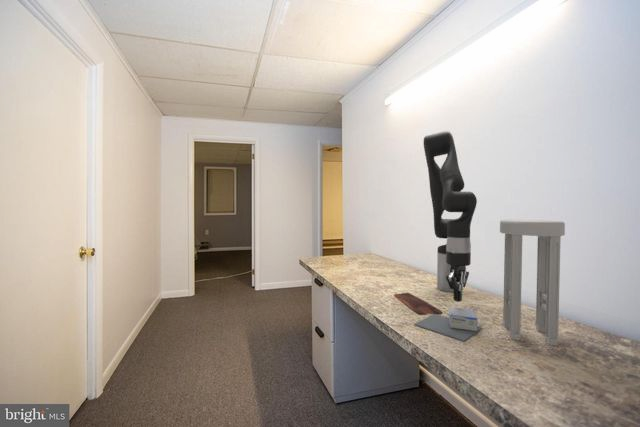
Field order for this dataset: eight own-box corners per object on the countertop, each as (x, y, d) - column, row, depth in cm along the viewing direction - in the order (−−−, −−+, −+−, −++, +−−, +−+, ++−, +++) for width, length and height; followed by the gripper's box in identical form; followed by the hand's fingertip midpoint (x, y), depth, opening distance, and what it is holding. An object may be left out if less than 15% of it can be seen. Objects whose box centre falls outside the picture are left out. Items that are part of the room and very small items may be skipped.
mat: (434, 314, 107) (434, 313, 107) (482, 328, 95) (482, 327, 95) (414, 325, 97) (414, 323, 97) (464, 341, 86) (464, 340, 86)
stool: (504, 340, 86) (506, 221, 85) (494, 321, 101) (496, 219, 100) (570, 350, 81) (573, 222, 80) (550, 328, 95) (552, 220, 94)
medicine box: (448, 318, 102) (449, 328, 94) (448, 305, 102) (449, 314, 94) (474, 321, 99) (477, 332, 91) (474, 308, 99) (477, 317, 91)
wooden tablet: (390, 291, 132) (411, 288, 134) (390, 296, 133) (411, 293, 134) (418, 313, 106) (444, 308, 108) (419, 319, 106) (444, 314, 108)
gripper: (455, 247, 107) (455, 294, 108) (438, 250, 99) (437, 302, 99) (477, 249, 102) (476, 299, 102) (461, 253, 93) (460, 308, 93)
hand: (457, 300), depth 101 cm, fingers closed
